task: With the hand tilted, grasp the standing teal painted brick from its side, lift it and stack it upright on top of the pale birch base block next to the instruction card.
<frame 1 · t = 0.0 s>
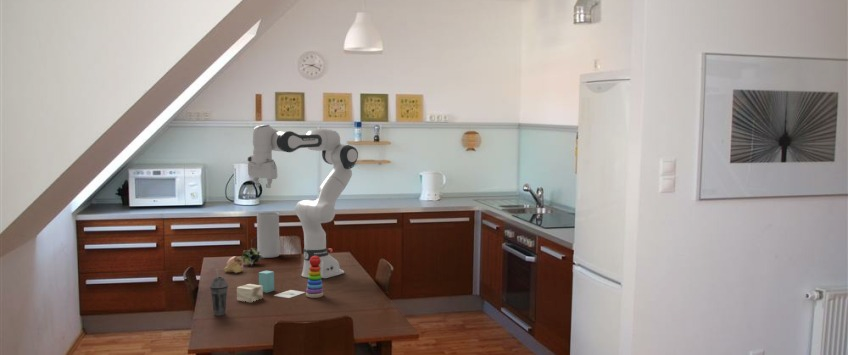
hand: (262, 187, 348), 48 cm above the table, tool pointing down, fingers open, 8 cm apart
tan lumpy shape: (234, 272, 380), on the table
beverage cup: (219, 314, 302), on the table
instruction card: (289, 294, 335), on the table
teal brick: (266, 290, 341), on the table
stacking toy: (314, 296, 331), on the table
green leafy clump: (251, 265, 398), on the table
cylinder vase: (268, 256, 423), on the table
base block: (249, 299, 326), on the table
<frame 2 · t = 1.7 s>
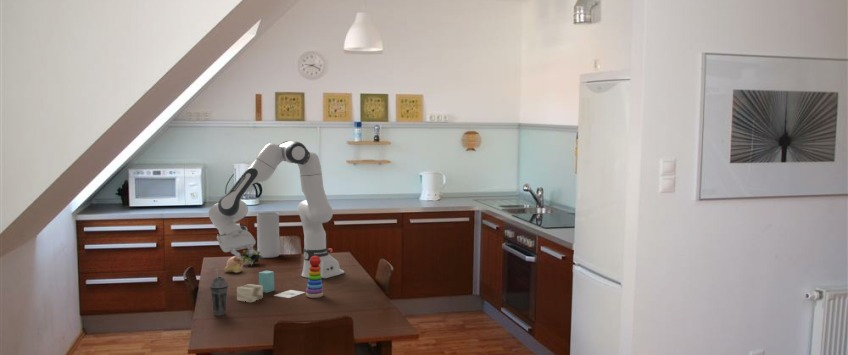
hand: (246, 255, 345), 16 cm above the table, tool tilted 45°, fingers open, 8 cm apart
nothing on the table moved.
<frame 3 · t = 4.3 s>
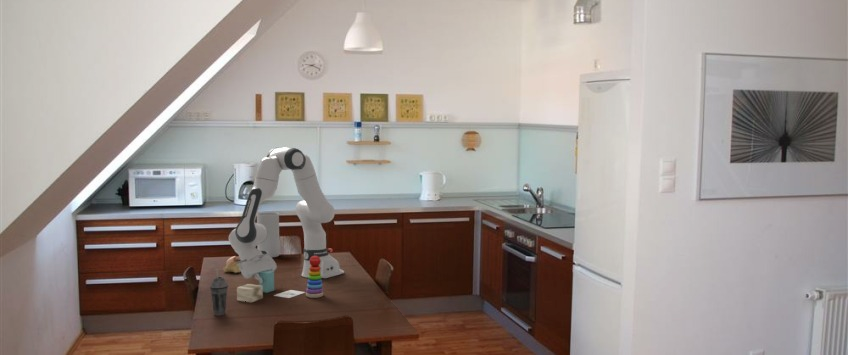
hand: (267, 280, 340), 5 cm above the table, tool tilted 45°, fingers closed on teal brick, 5 cm apart
teal brick: (266, 290, 341), on the table, touching gripper
everything else where it was.
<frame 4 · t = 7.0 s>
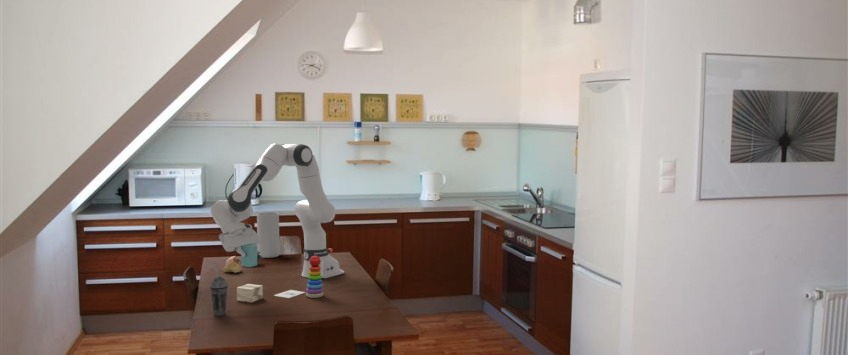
hand: (250, 254, 324), 20 cm above the table, tool tilted 45°, fingers closed on teal brick, 5 cm apart
teal brick: (249, 265, 325), point 15 cm above the table, touching gripper
everything else where it was.
when the fingers open (12 cm above the table, at t = 8.9 s): teal brick drops 2 cm, resting on base block.
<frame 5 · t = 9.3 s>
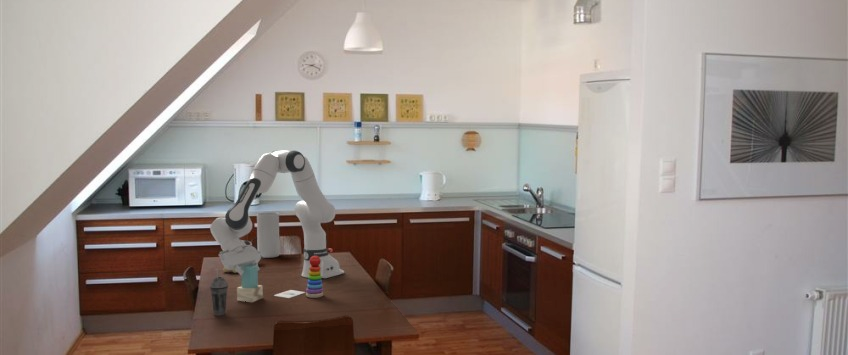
hand: (250, 272, 324), 12 cm above the table, tool tilted 45°, fingers open, 8 cm apart
teal brick: (249, 286, 325), point 6 cm above the table, touching base block
base block: (250, 299, 326), on the table, touching teal brick
everything else where it was.
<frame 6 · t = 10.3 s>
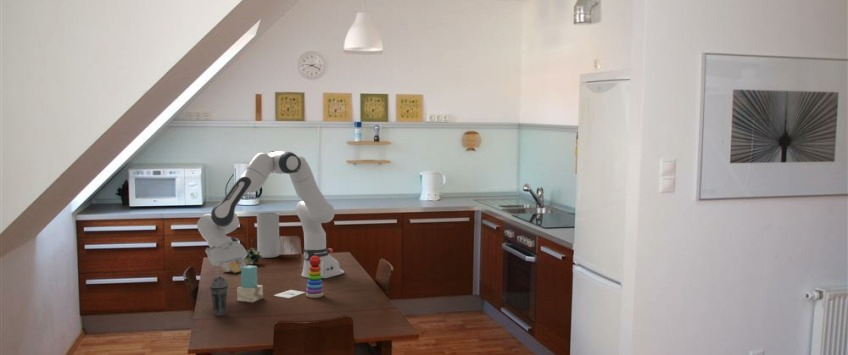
hand: (237, 268, 328), 13 cm above the table, tool tilted 45°, fingers open, 8 cm apart
nothing on the table moved.
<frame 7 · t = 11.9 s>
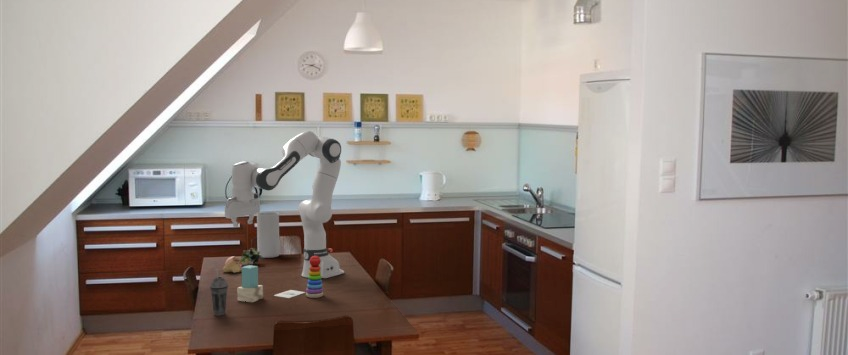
hand: (243, 225, 341), 31 cm above the table, tool pointing down, fingers open, 8 cm apart
nothing on the table moved.
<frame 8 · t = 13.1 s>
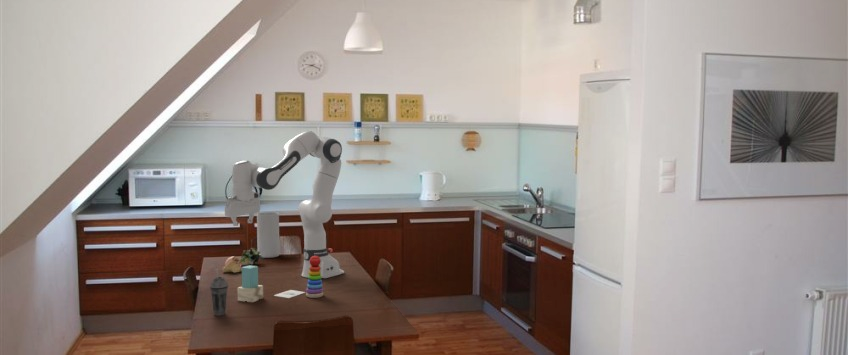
hand: (242, 224, 341), 31 cm above the table, tool pointing down, fingers open, 8 cm apart
nothing on the table moved.
at the end: teal brick 0.0 cm off-centre on the base block, point 6.0 cm above the base block's base; teal brick tilted 0°; the gripper is holding nothing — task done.
